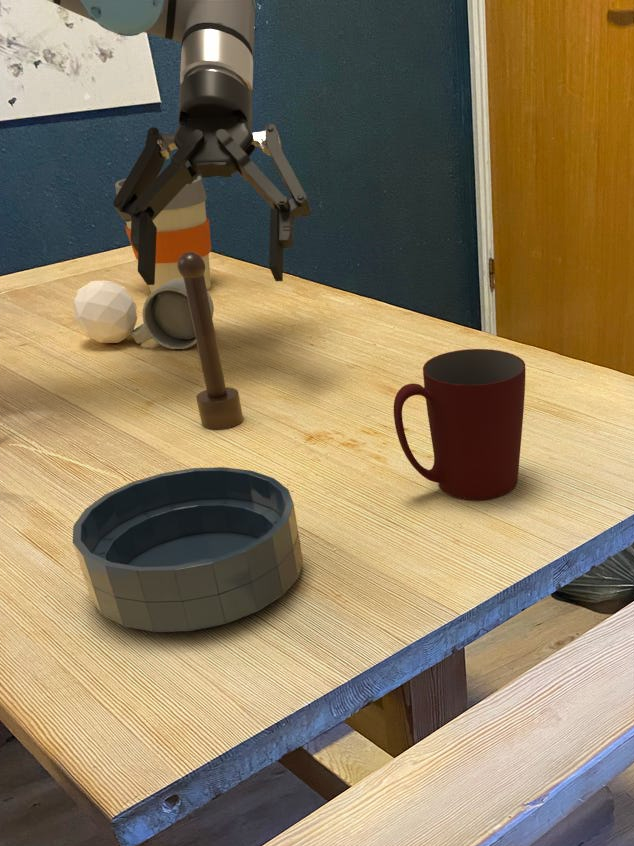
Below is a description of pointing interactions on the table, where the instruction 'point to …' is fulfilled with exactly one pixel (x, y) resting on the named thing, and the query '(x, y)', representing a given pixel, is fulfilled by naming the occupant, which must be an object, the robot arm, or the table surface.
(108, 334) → the geometric ball
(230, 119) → the robot arm
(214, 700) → the table surface
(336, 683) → the table surface
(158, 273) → the reusable coffee cup
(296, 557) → the bowl
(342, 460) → the table surface
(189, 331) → the ceramic mug
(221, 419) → the muddler
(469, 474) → the mug
